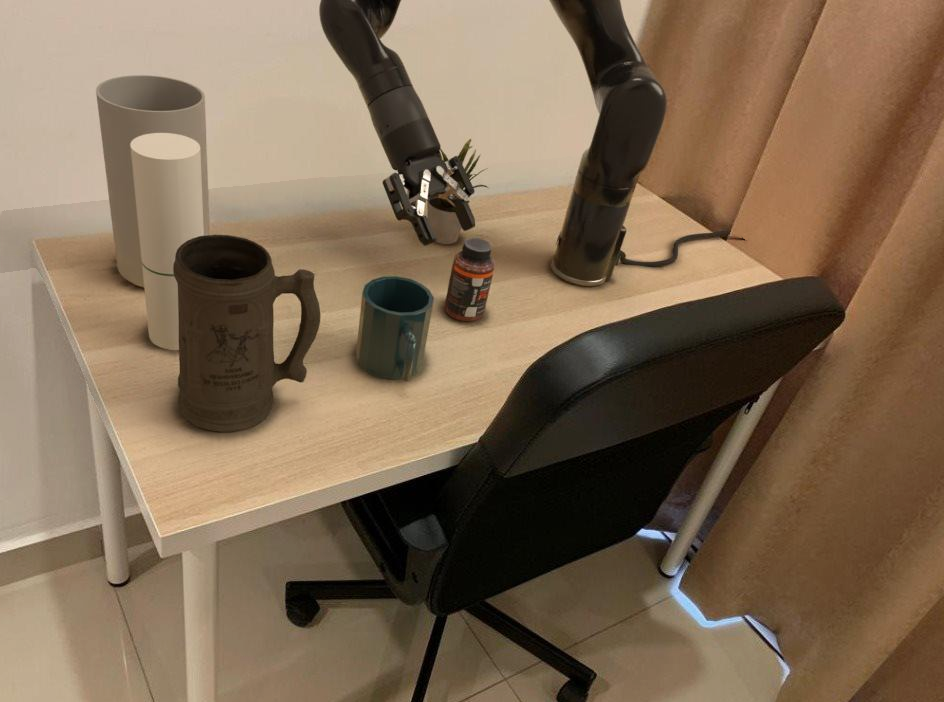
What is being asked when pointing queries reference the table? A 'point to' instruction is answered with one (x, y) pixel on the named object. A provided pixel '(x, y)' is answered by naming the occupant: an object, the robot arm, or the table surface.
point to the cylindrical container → (165, 221)
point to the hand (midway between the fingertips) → (450, 236)
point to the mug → (393, 327)
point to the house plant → (448, 205)
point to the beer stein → (235, 330)
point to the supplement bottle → (470, 280)
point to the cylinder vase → (135, 114)
